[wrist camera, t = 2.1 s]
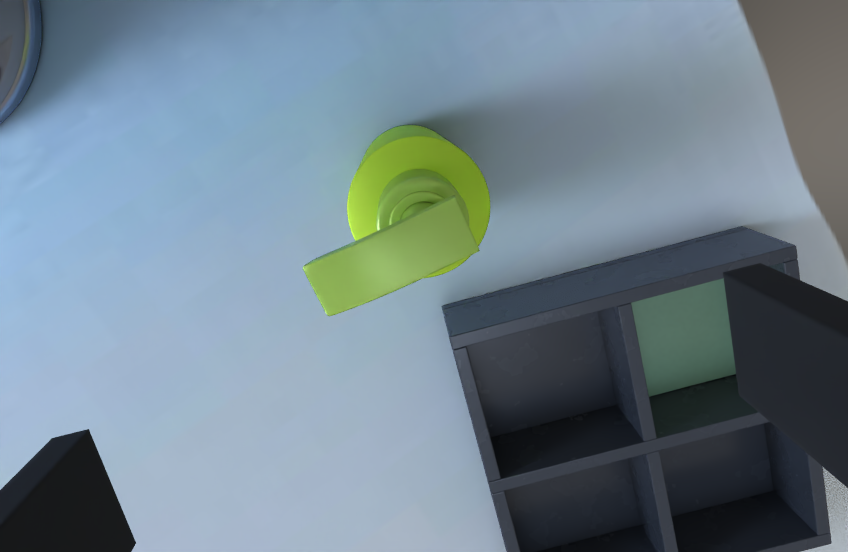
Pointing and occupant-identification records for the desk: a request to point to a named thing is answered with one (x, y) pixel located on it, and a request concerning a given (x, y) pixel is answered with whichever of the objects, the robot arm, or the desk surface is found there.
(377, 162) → the soap dispenser
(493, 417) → the rack
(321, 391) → the desk surface
